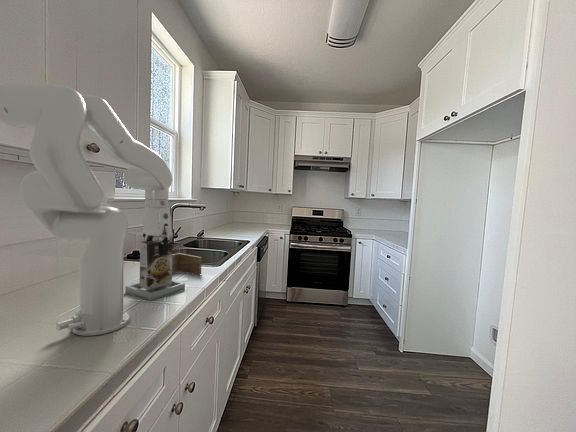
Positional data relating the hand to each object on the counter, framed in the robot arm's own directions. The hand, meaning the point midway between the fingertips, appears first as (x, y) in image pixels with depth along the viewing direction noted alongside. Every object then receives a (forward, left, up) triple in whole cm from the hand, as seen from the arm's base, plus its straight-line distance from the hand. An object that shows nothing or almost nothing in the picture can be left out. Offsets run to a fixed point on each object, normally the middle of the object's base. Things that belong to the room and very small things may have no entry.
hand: (156, 253), depth 98 cm
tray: (0, 0, -14) cm, 14 cm away
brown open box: (+16, +9, -14) cm, 23 cm away
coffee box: (0, 0, -12) cm, 12 cm away
